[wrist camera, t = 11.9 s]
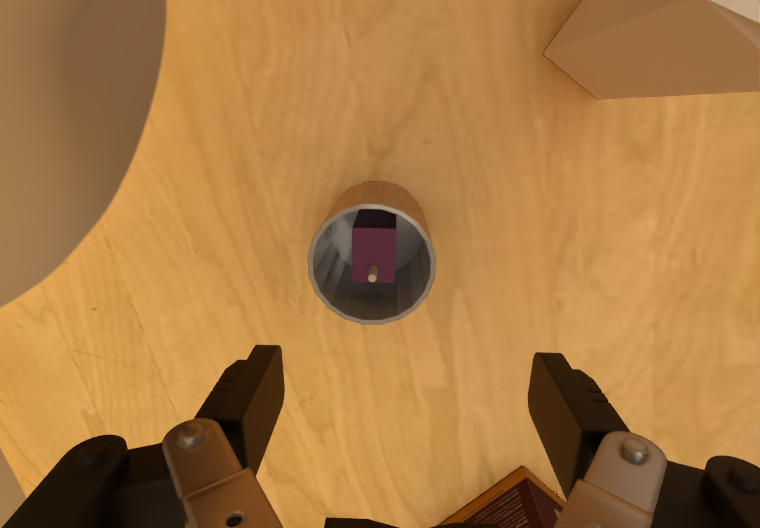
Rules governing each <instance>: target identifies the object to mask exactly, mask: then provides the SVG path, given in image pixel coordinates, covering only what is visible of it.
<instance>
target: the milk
mask: <svg viewBox="0 0 760 528" xmlns="http://www.w3.org/2000/svg"><path fill="white" fill-rule="evenodd" d="M543 55H544V56H546V57H547V58H548V59H549V60H551V61H552V62H553V63H554V64H555V65H557V66H558V67H559V68H560V69H562V70H563V71H564V72H565V73H566V74H568V75H569V76H570V77H571V78H573V79H574V80H575V81H576V82H577V83H579V84H580V85H581V86H582V87H584V88H585V89H586V90H587V91H588V92H590V93H591V94H592V95H593V96H595V97H596V98H597V99H599V100H601V99H621V98H640V97H660V96H679V95H699V94H718V93H738V92H757V91H760V0H582V1H581V3H580V4H579V5H578V7H577V8H576V9H575V11H574V12H573V14H572V15H571V16H570V18H569V19H568V20H567V22H566V23H565V24H564V26H563V27H562V28H561V30H560V31H559V32H558V34H557V35H556V36H555V38H554V39H553V40H552V42H551V43H550V44H549V46H548V47H547V48H546V50H545V51H544V53H543Z"/></svg>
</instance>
